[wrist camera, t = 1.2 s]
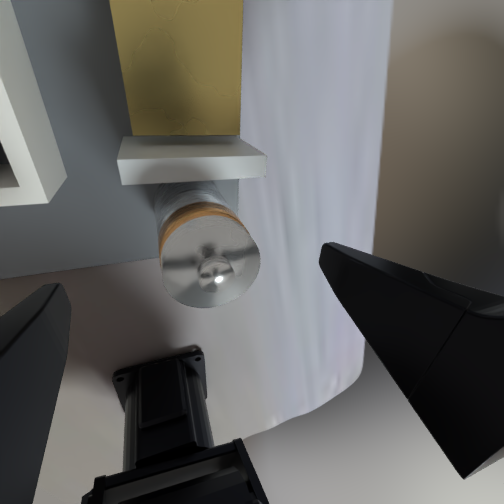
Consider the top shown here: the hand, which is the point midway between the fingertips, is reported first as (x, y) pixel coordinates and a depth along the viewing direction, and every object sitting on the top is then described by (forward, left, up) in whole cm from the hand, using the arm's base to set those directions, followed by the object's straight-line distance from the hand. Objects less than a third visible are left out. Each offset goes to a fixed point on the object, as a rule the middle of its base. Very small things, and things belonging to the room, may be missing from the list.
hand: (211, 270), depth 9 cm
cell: (0, 0, -6) cm, 6 cm away
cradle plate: (+6, 0, -5) cm, 8 cm away
